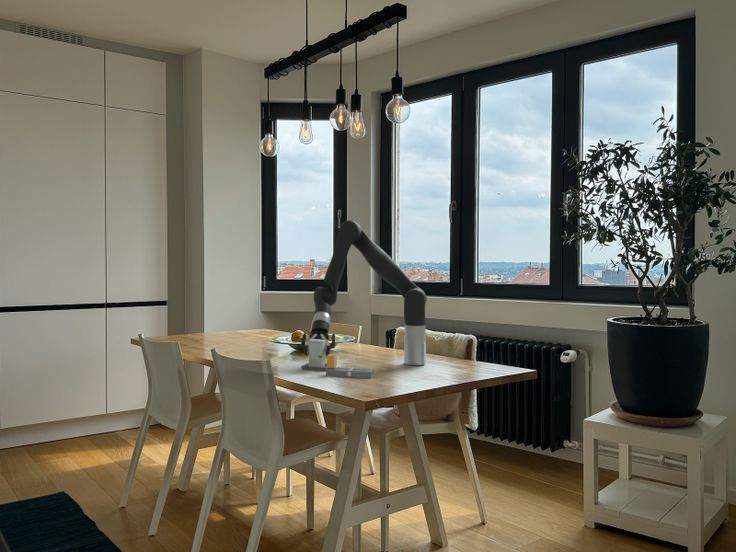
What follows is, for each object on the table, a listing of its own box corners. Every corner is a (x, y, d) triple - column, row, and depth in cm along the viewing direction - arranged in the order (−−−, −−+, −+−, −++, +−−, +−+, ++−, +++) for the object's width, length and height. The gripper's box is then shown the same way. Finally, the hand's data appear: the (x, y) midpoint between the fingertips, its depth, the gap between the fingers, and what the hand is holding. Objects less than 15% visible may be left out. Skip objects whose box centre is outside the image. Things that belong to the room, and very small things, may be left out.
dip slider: (336, 366, 260) (336, 354, 260) (334, 368, 256) (334, 355, 256) (329, 366, 260) (329, 353, 260) (326, 368, 256) (326, 355, 256)
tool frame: (332, 367, 276) (332, 363, 276) (325, 371, 266) (325, 367, 265) (308, 365, 278) (308, 362, 278) (301, 370, 268) (301, 366, 268)
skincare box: (308, 369, 271) (308, 340, 270) (312, 367, 275) (312, 338, 274) (321, 370, 269) (322, 340, 268) (325, 368, 273) (326, 339, 273)
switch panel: (374, 375, 258) (374, 368, 258) (370, 378, 251) (370, 371, 251) (330, 372, 262) (330, 366, 262) (325, 376, 255) (325, 369, 255)
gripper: (303, 318, 279) (298, 349, 268) (336, 319, 278) (332, 349, 267) (305, 329, 285) (300, 359, 274) (338, 330, 284) (334, 360, 272)
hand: (316, 354), depth 270 cm, fingers open, 8 cm apart
